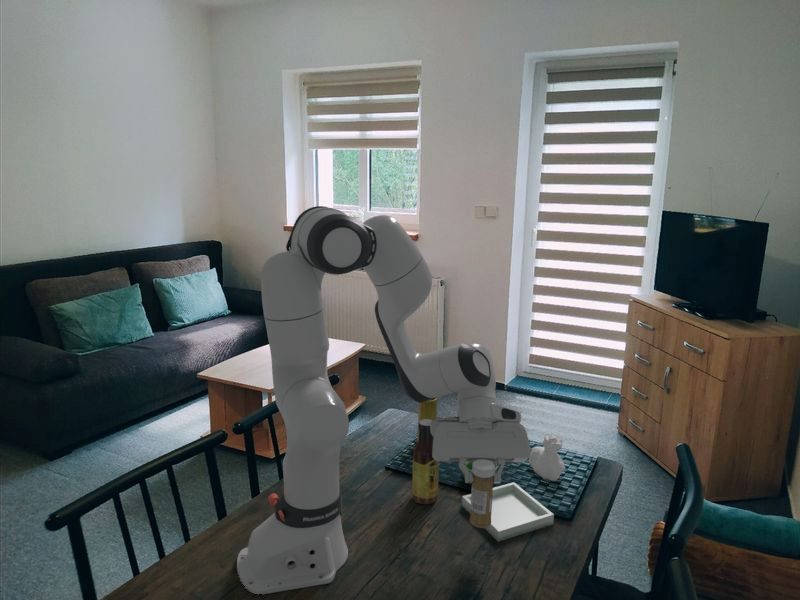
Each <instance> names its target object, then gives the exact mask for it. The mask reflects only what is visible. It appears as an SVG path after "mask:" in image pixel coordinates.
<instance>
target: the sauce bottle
mask: <svg viewBox="0 0 800 600" xmlns="http://www.w3.org/2000/svg"><path fill="white" fill-rule="evenodd" d="M431 422H432V420H430V419H423V420H420V421H419V423H418V422H417V428H418V427H419V437H418V438H419V440H418V442H417V441H416V443H415V444H414V447H413V457H412V481H411V482H412V484H411V485H412V487H411V493H412V499H413V501H414V502H416V503H418V504H421V505H429V504H433V503H435V502H436V501H437V498H438V493H439V469H440V467H439V466H440V461H435V459H434V458H433V457H432V447H433V438H434V437H433V436H432V434H431V432H430V424H431Z"/></svg>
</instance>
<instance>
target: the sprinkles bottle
mask: <svg viewBox="0 0 800 600" xmlns="http://www.w3.org/2000/svg"><path fill="white" fill-rule="evenodd" d="M472 473H473V483H472V485H471V488H470V489H471V490H470V491H471V493H470V494H471V514H470V517H469V523H470V524H471V525H472V526H474V527H476V528H481V529H485V527H488V526H490V524H491V511H492V498H493V488H494V483H493V476H494V474H495V465H494V463H493V462H491V461H490V460H486V459H478V460H475V461H474V462H473V464H472Z"/></svg>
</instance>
